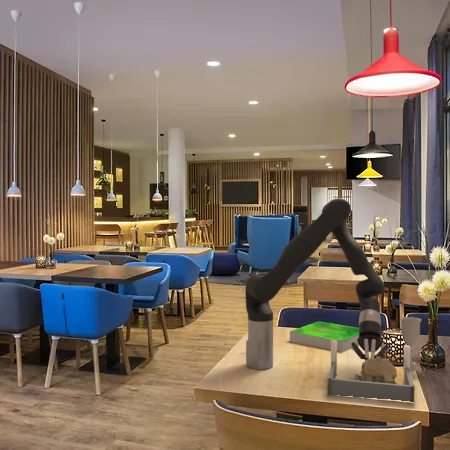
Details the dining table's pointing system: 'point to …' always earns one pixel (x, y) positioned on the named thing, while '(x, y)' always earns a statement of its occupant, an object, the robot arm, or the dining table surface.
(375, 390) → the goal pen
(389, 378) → the ceramic model
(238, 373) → the dining table surface
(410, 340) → the chalice
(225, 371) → the dining table surface
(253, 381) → the dining table surface
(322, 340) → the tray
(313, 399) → the dining table surface
